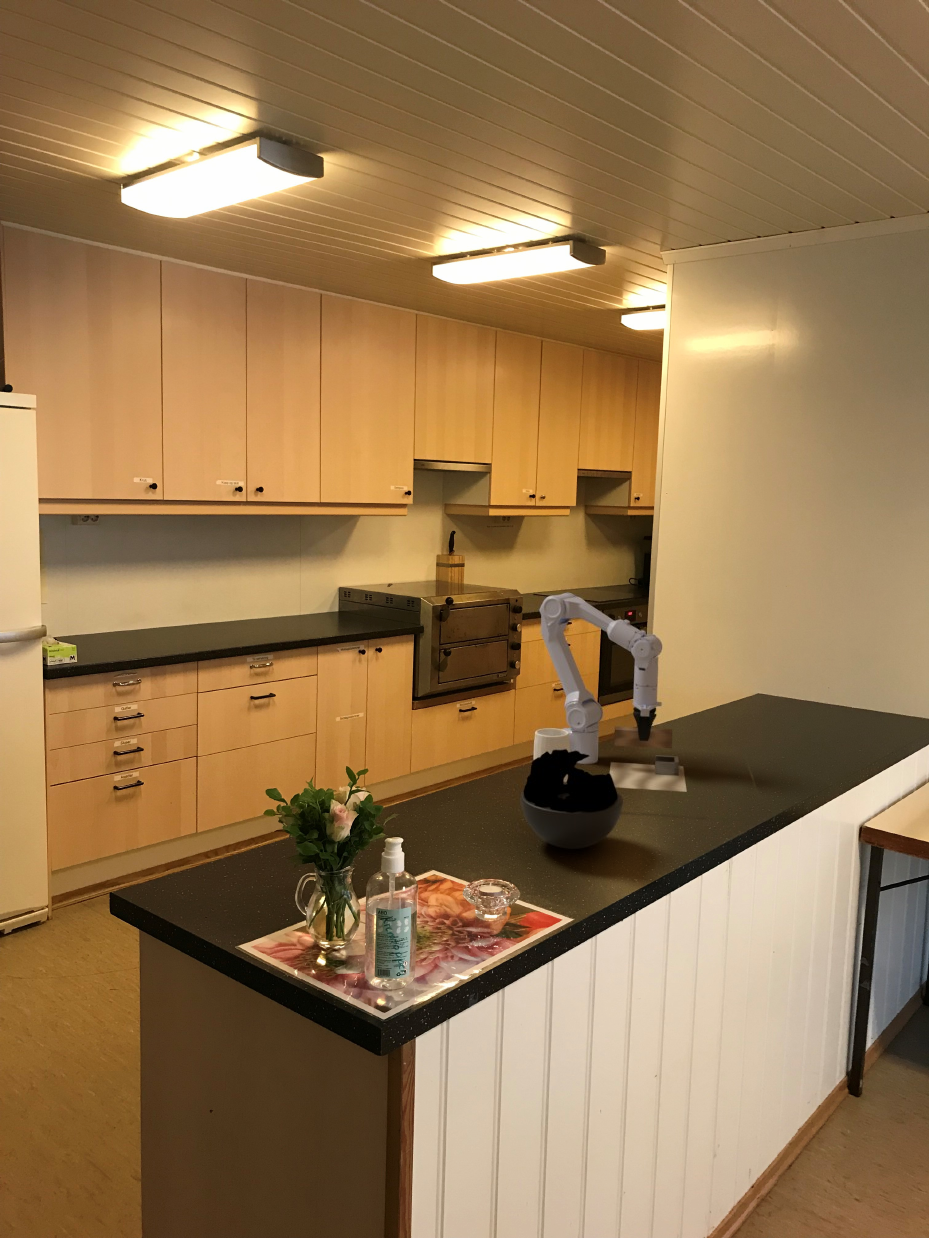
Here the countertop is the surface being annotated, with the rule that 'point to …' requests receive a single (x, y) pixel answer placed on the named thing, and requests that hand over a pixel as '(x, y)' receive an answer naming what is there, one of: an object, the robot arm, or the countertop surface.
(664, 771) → the bracket
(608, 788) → the bowl of black rocks
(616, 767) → the mounting board
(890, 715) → the countertop surface
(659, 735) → the rail
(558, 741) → the cup
